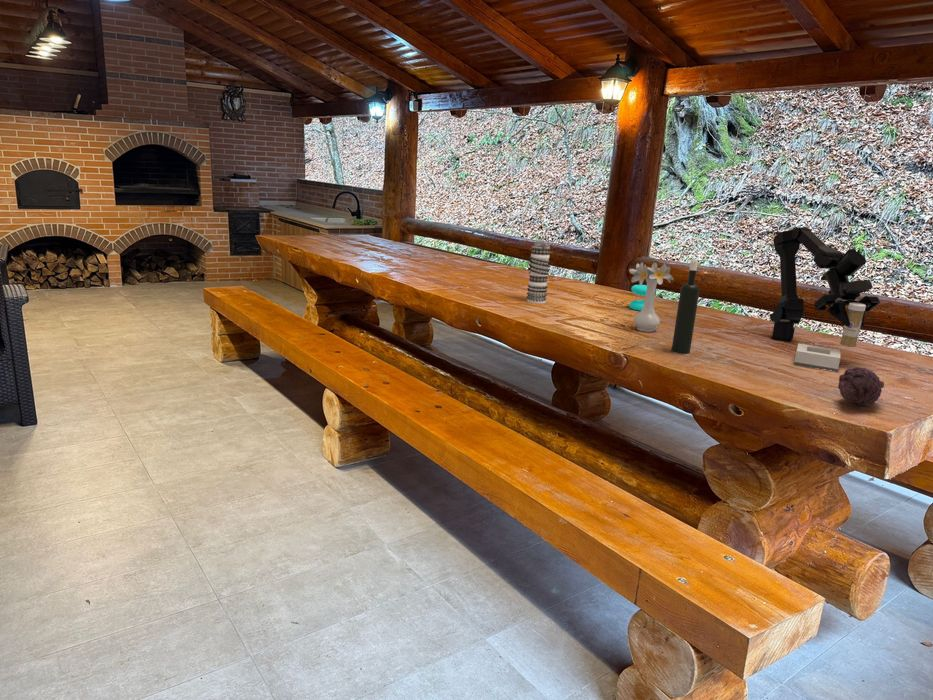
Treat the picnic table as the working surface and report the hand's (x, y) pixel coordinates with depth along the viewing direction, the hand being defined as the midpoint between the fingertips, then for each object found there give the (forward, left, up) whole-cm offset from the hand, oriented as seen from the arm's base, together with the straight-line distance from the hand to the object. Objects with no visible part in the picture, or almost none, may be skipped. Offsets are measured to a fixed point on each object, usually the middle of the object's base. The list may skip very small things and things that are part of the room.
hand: (855, 326), depth 199 cm
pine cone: (+1, -42, -13) cm, 44 cm away
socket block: (-9, -3, -13) cm, 16 cm away
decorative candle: (-118, +27, -13) cm, 121 cm away
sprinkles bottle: (-1, +1, -7) cm, 7 cm away
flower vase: (-66, +6, -13) cm, 67 cm away
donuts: (-77, +45, -13) cm, 90 cm away
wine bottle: (-48, -17, -13) cm, 52 cm away
